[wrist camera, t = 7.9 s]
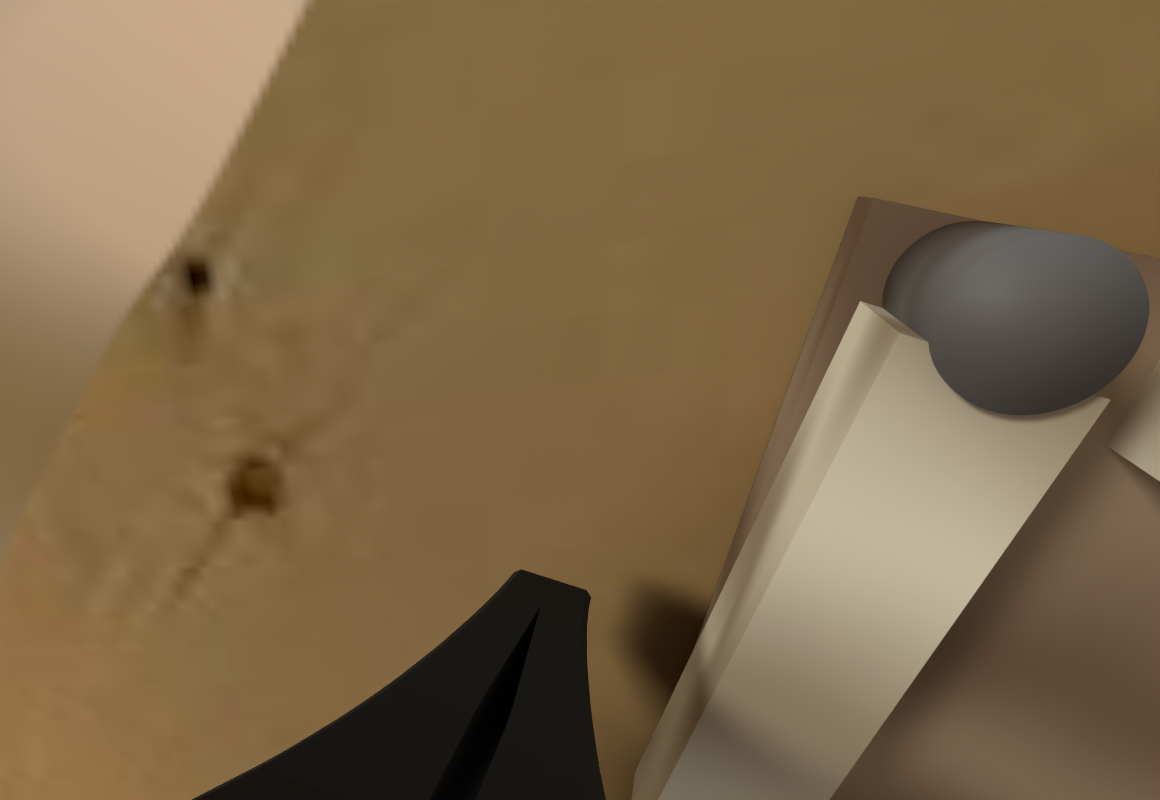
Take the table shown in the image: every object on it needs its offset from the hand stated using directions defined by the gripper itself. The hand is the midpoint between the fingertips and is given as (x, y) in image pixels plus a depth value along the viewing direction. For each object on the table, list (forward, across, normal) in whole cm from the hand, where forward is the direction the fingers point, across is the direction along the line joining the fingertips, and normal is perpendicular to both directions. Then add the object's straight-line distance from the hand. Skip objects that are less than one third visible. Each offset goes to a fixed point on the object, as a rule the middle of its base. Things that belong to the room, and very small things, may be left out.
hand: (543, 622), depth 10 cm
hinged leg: (+1, -4, -2) cm, 5 cm away
